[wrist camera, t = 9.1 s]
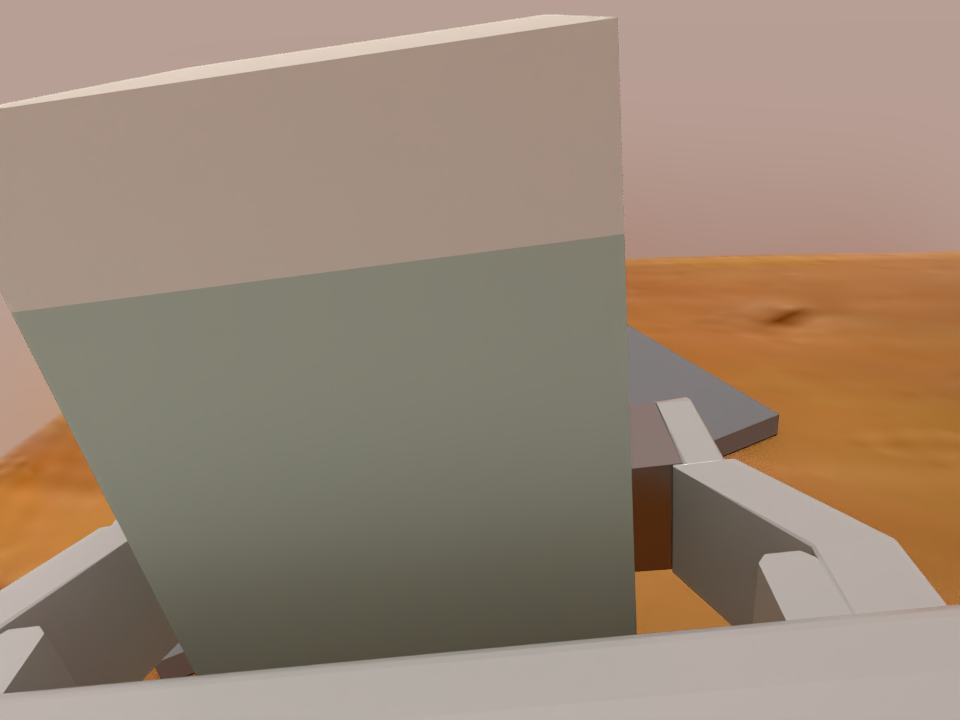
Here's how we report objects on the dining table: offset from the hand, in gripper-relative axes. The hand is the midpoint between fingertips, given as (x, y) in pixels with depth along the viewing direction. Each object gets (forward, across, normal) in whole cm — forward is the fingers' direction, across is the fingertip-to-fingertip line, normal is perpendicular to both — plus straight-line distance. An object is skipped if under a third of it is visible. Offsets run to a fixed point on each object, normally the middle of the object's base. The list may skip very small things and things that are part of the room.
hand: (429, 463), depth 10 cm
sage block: (-1, 0, +6) cm, 6 cm away
